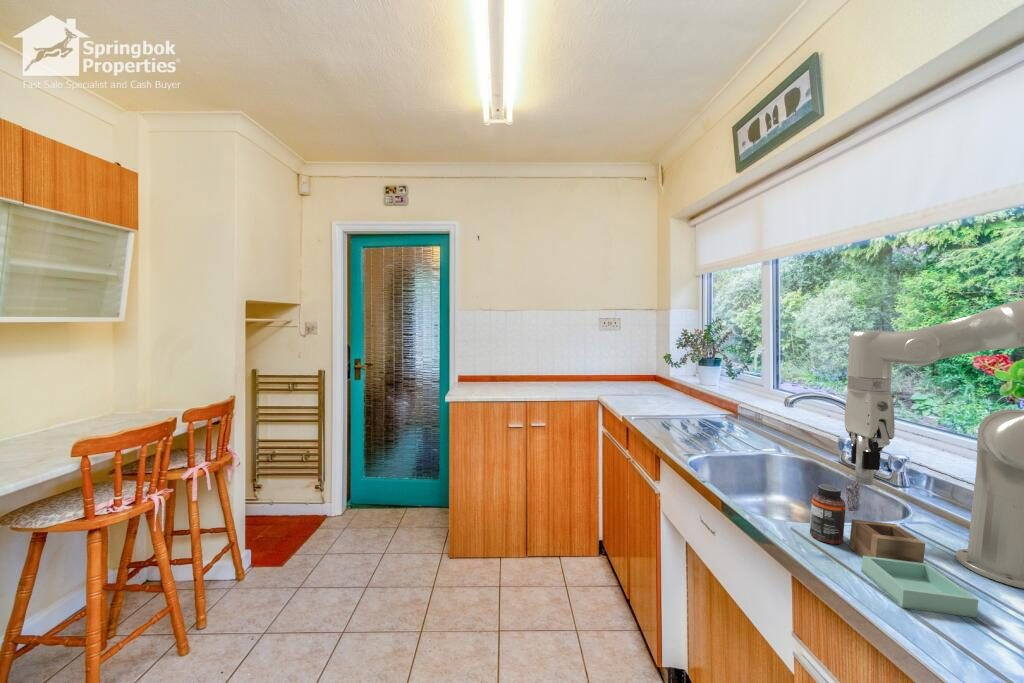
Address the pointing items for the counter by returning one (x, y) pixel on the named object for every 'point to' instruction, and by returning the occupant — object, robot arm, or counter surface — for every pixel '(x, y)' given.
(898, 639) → the counter surface
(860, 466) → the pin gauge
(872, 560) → the tray
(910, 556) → the bore block
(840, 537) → the supplement bottle
